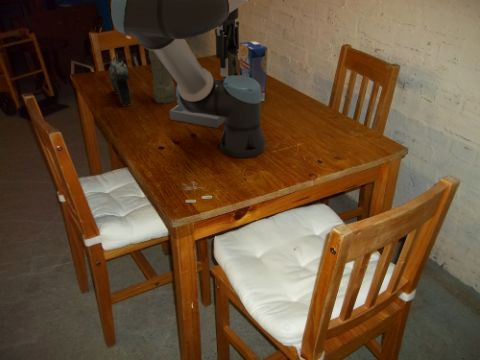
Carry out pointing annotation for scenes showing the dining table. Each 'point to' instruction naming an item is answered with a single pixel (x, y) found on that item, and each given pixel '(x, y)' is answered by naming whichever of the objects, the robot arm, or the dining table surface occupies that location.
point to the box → (195, 117)
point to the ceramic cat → (120, 80)
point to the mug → (232, 60)
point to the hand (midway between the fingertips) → (228, 73)
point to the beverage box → (254, 63)
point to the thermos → (161, 81)
